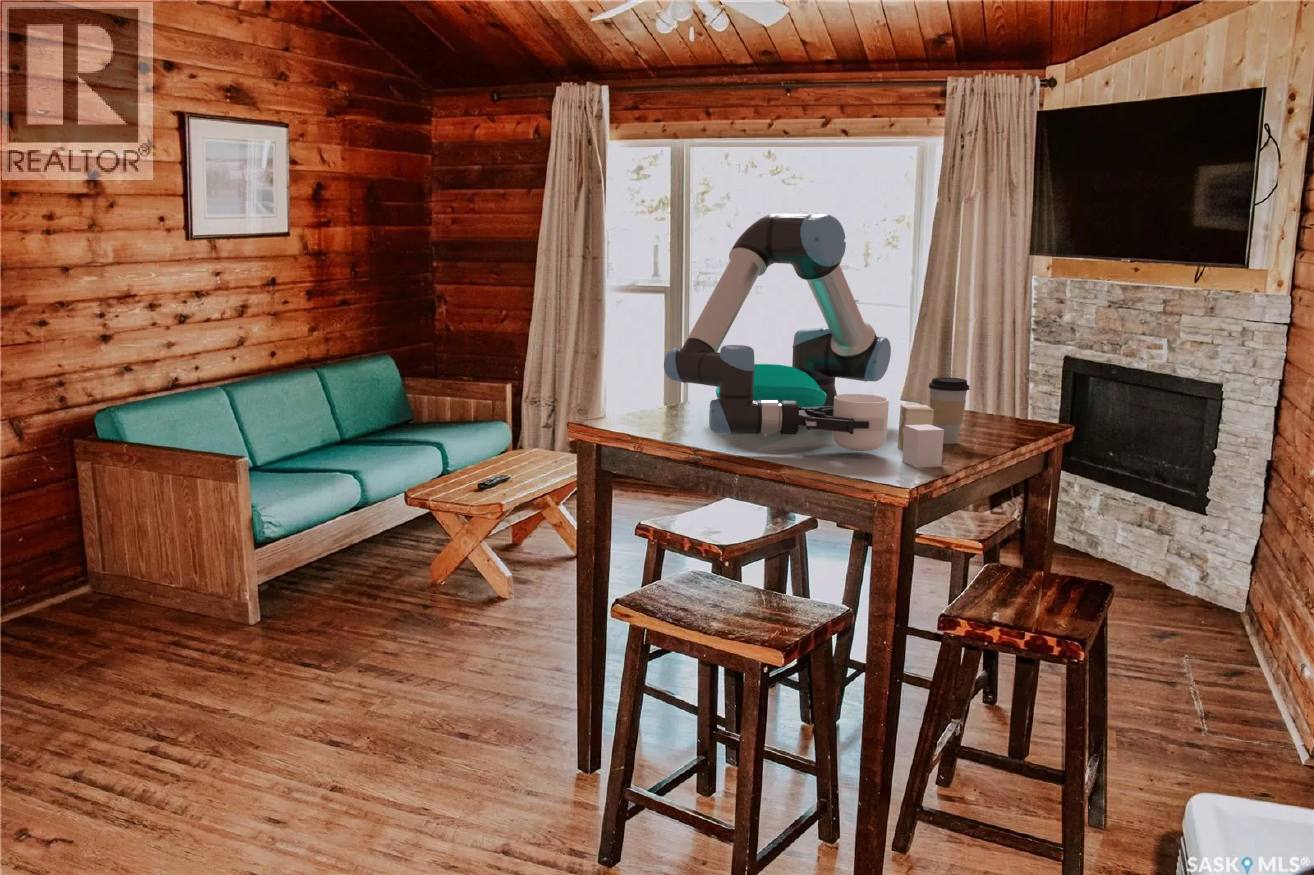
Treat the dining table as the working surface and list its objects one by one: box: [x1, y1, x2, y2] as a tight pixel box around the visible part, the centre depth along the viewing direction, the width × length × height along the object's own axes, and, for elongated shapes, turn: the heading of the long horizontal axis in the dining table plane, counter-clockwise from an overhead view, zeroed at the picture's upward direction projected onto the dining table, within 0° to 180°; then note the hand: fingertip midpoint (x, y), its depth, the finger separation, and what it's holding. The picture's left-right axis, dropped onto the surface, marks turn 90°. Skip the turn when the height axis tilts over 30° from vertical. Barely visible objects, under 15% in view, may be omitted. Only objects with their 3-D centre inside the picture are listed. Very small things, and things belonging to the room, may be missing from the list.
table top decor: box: [715, 363, 827, 407], centre depth 261 cm, size 40×28×13 cm
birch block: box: [897, 404, 934, 452], centre depth 236 cm, size 6×6×10 cm
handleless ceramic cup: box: [831, 393, 890, 452], centre depth 229 cm, size 12×12×11 cm
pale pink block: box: [901, 424, 944, 468], centre depth 222 cm, size 6×6×8 cm
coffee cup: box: [928, 376, 971, 445], centre depth 246 cm, size 9×9×15 cm
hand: (877, 418), depth 229 cm, fingers closed on handleless ceramic cup, 12 cm apart
